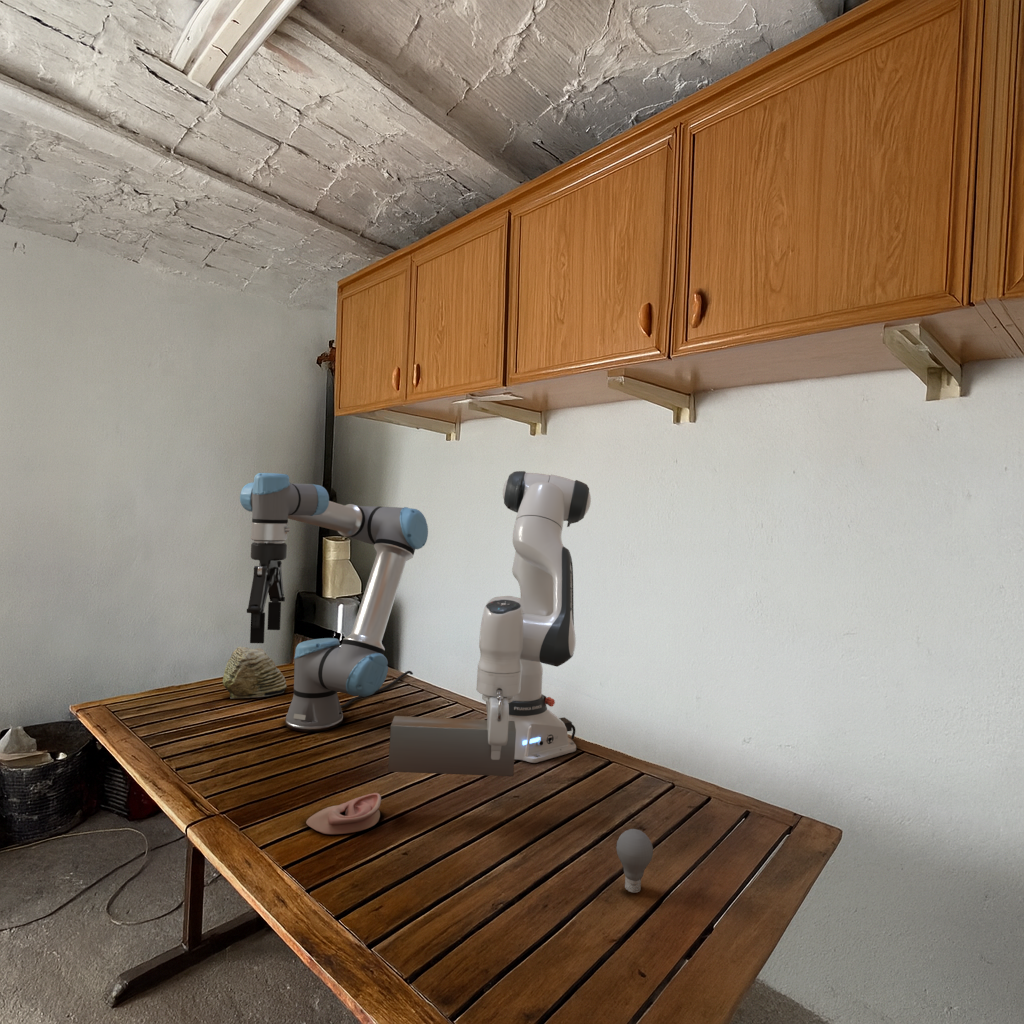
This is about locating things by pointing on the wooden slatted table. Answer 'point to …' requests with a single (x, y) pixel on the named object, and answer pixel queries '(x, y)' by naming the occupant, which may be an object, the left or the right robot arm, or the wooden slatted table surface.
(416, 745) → the bar
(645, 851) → the light bulb
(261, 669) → the fossil
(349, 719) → the wooden slatted table surface
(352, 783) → the wooden slatted table surface
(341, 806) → the anatomical model
